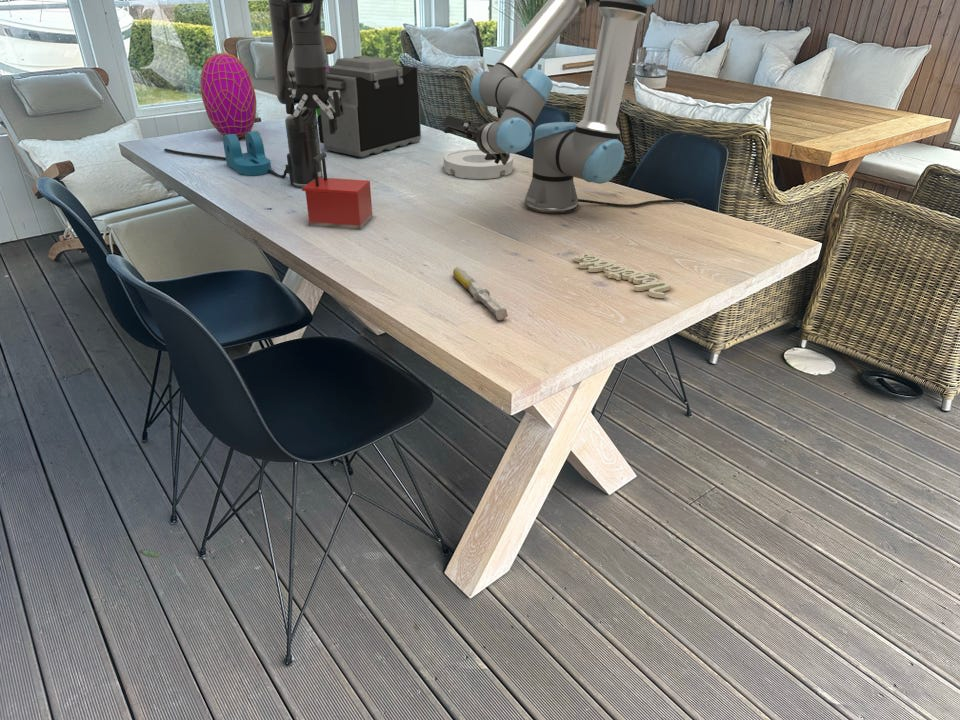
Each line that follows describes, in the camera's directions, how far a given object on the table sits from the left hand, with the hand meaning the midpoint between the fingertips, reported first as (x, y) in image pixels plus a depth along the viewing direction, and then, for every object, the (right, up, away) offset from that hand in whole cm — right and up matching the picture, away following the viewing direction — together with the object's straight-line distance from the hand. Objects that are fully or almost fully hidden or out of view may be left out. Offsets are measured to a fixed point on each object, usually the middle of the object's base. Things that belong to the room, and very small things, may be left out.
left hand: (317, 132), depth 174 cm
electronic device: (+1, +23, +84) cm, 87 cm away
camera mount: (-35, +6, +55) cm, 65 cm away
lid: (+4, -12, +6) cm, 14 cm away
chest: (+4, -20, +11) cm, 23 cm away
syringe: (+41, -44, -29) cm, 67 cm away
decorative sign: (+74, -39, -19) cm, 85 cm away
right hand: (+38, +2, +14) cm, 41 cm away
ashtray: (+41, +6, +57) cm, 70 cm away
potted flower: (-24, +44, +119) cm, 130 cm away
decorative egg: (-54, +29, +93) cm, 111 cm away
